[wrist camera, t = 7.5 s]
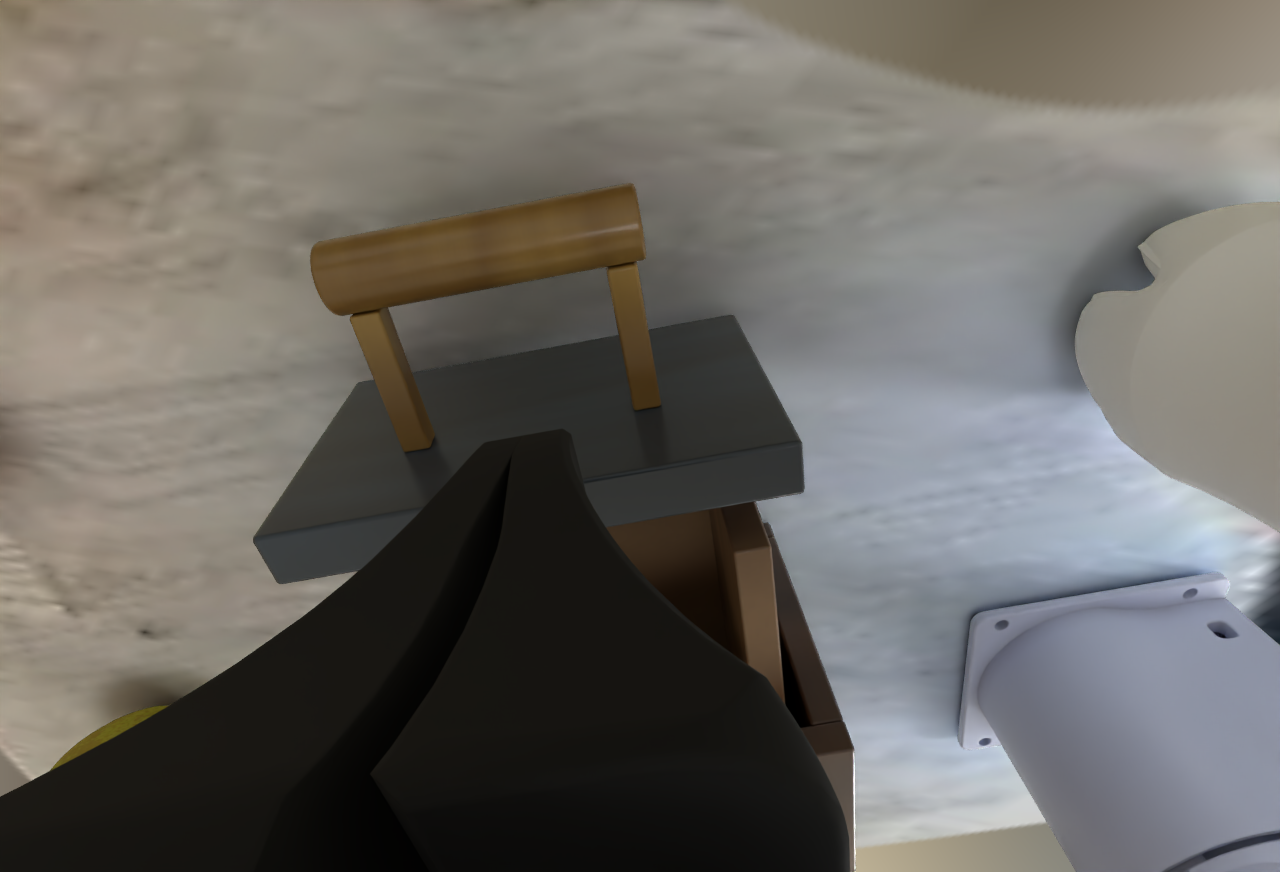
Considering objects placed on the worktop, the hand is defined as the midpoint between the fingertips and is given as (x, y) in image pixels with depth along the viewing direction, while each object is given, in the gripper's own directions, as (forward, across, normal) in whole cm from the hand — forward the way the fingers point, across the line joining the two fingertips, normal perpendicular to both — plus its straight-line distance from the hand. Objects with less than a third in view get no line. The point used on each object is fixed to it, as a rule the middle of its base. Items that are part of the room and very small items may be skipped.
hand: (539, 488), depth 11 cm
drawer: (+8, +1, +5) cm, 10 cm away
